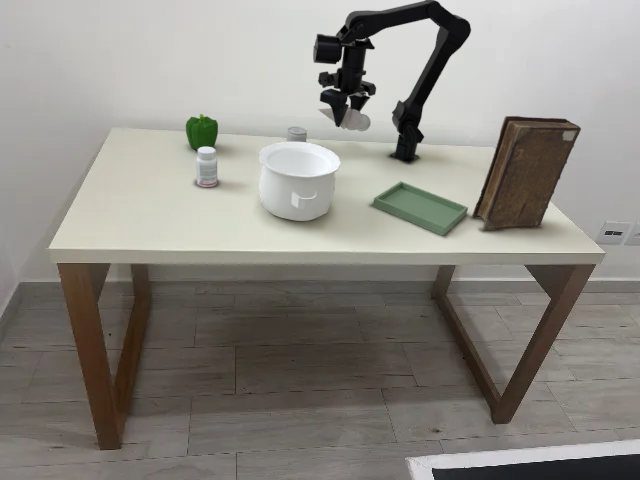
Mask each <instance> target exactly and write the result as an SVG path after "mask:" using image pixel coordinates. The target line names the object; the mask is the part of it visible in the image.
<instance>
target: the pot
mask: <svg viewBox="0 0 640 480" xmlns="http://www.w3.org/2000/svg"><path fill="white" fill-rule="evenodd" d="M258 158H259V159H258V160H259V162H260V164H262V167H261V171H260V177H259V185H258V186H259V189H258V191H259V195H260V201H261V205H262V206H263V208H265V210H266V211H267V212H269V213H270V214H272V215H274V216H276V217H279V218H281V219H286V220H291V221H295V222H296V221H297V222H308V221H312V220H314V219H317V218H319V217H321V216H323V215H324V214H326V213H328V211H329V208H330V206H331V204H332V202H333V199H334V196H335V191H336V175H335V173H336V172H338V171H339V168H340V167H341V164H342V163H341V160H340V157H339V156H338V155H337V154H336V153H335V152H334V151H332V150H330V149H328V148H326V147H324V146H322V145H319V144H316V143H310V142H307V141H306V142H292V141H291V142H286V141H282V142H281V141H280V142H275V143H271V144H269V145H267V146H264V147H263V148H262V149H261V150H260V152H259V153H258Z"/></svg>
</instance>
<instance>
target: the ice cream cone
mask: <svg viewBox="0 0 640 480" xmlns="http://www.w3.org/2000/svg"><path fill="white" fill-rule="evenodd" d="M317 110H318V112H320V113H321V114H323V115H324V116H325V117H327V118H328V119H330V120H331V121H332V122H334V123H335V121H334V116H333V111H332V108H331V107H330V108H317ZM371 123H372V122H371V118H370V117H369V116H368V115H367V114H365V113H361V111H360V112H359V111H358V110H355V109H351V107H350V106H349V107H348V109H347V111H346V114H345V116H344V118H343V121H342V123H341V125H340V127H339V128H341V129H342V130H345V129H347V131H358V132H366V131H368V129H369V128H370V127H371Z"/></svg>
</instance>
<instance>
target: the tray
mask: <svg viewBox="0 0 640 480" xmlns="http://www.w3.org/2000/svg"><path fill="white" fill-rule="evenodd" d="M372 207H374V208H377V209H379V210H382V211H383V212H386V213H388V214H390V215H393V216H395V217H397V218H400V219H403V220H404V221H408V222H409V223H412V224H414V225H417V226H419V227H422V228H423V229H426V230H428V231H430V232H433V233H435V234H437V235H440V236H445V235H446V234H447V233H448V232H449V231H450V230H452V228H454V227H455V226H456V225H457V224H459V222H460V221H461V220H462V219H464V217H466V216H467V214H468V209H469V207H468V206H465V205H463V204H461V203H458V202H456V201H453V200H450V199H448V198H445V197H442V196H440V195H437V194H435V193H432V192H430V191H427V190H424V189H422V188H419V187H417V186H414V185H411V184H410V183H406V182H405V181H399V182H398V183H395V184H394V185H393V186H391V187H390V188H388V189H386V190H385V191H383V192H381V193H380V194H378V195H377V196H375V197H374V198H373V203H372Z"/></svg>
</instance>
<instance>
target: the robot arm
mask: <svg viewBox="0 0 640 480" xmlns="http://www.w3.org/2000/svg"><path fill="white" fill-rule="evenodd" d="M428 19H429V20H431V21H432V23H434V24H435V25H437V26H438V31H437V34H436V39H435V44H434V49H433V50H432V53H431V54H430V56H429V58H428V60H427V62H426V63H425V65H424V67H423V70H421V71H422V72H421V73H420V75H419V77H418V78H417V81H416V83H415V85H414V86H413V88H412V91H411V92H410V94H409V96H408V97H407V98H405V100H404V101H402V100H401V99H400V100H399V99H398V101H397V103H396V106H395V107H394V109H393V110H392V111H391V114H392V115H391V116H392V117H391V121H392V124H393V126H394V127H395V129H396V131H397V133H398V137H397V142H396V147H395V151H394V152H392V153H390V154H389V157H391V158H393V159H396V160H399V161H402V162H405V163H406V164H411V163H413V162H414V161H417V160H418V159H419V158H420V155H418V154H416V152H417V149H418V144H421V143H422V142H423V140H424V138H425V135H424V134H423V132H422V131H421V129H419V126H420V123H421V120H422V118H423V117H422V116H423V112H424V111H423V109H424V105H425V103H426V102H427V100H428V98H429V97H430V94H431V93H432V91H433V89H434V88H435V86H436V84H437V82H438V80H439V78H440V76H441V75H442V73H443V71H444V69H445V68H446V66H447V64H448V62H449V60H450V59H451V57H452V56H453V55H455V53H456V52H458V51H459V50H460V49H461V48H462V46H464V44H465V43H466V41H467V40H468V38H469V37H470V35H471V33H472V27H471V23H470V22H469V21H468V20H467V19H466V18H463V17H462V16H459V15H458V14H454V13H452V12H450V11H449V10H448V9H446V8H445V7H444V6H442V4H441V3H440V2H439V1H437V0H422V1H418V2H413V3H409V4H404V5H401V6H396V7H391V8H388V9H387V8H386V9H383V10H368V9H367V10H353V11H351V12H350V13H348V15H347V16H346V18H345V21H344V24H343V26H341V28H340V29H339V31H337V33H336V34H335V35H327V34H323V33H317V34H316V38H315V40H314V45H313V49H312V56H313V57H312V60H313V63H314V64H324V65H326V64H328V65H337V63H340V61H341V67H337V69H336V72H331V73H330V72H329V71H328V70H327V71H321V72H319V73H318V74H319V75H318V77H317V78H318V80H317V83H318V84H319V85H320V86H321V87H322V88H323V89H324V90H322V91H321V92H320V93H319V102H321V103H324V104H327V105H329V107H330V108H332V111H333V116H334V121H335V122H334V121H333V122H334V125H335V127H336V128H341V127H340V125H341V123H342V121H343V118H344V116H345V114H346V111H347V109H348V107H351V109H355V110H358V111H359V112H360V113H361V112H362V109H363V108H364V107H365V105H366V104H367V102H368V101H369V100H371V97H373V96H375V95H376V92H377V86H376V85H375V83H372V82H370V81H366V80H363V76H366V75H367V70H365V69H364V68H365V62H366V55H367V50H372V51H373V50H375V49H376V46H374V44H373V43H372V41H371V38H370V37H373V36H375V35H376V34H379V33H380V32H381V31H384V30H385V29H390V28H393V27H398V26H402V25H406V24H411V23H416V22H419V21H424V20H428ZM327 87H328V89H325V88H327ZM329 87H333V88H329ZM348 98H349V101H350V104H349V103H347V102H348Z"/></svg>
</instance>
